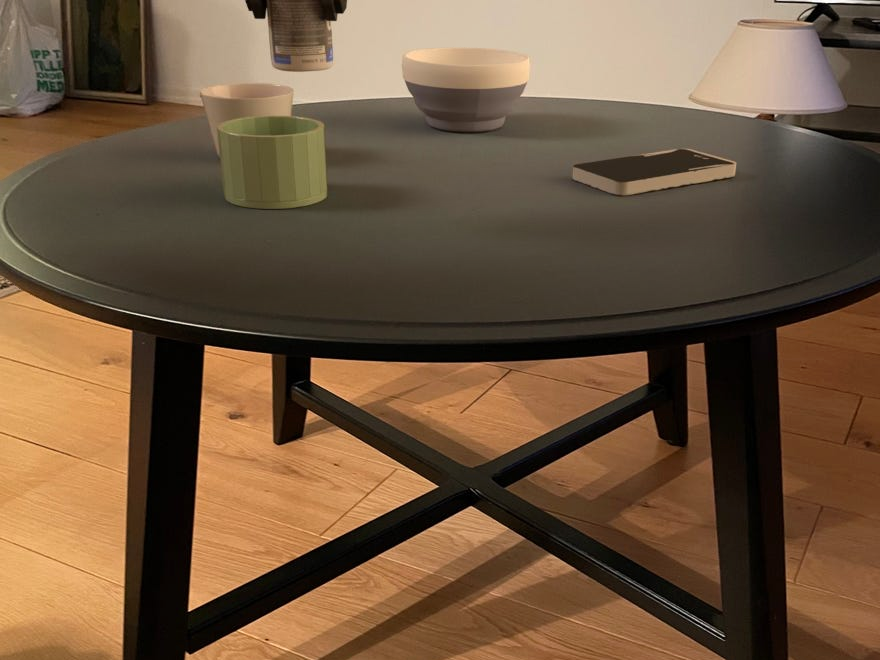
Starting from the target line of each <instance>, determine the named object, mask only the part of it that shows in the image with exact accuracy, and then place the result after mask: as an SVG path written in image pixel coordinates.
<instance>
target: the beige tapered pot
mask: <svg viewBox="0 0 880 660" xmlns="http://www.w3.org/2000/svg"><path fill="white" fill-rule="evenodd" d="M199 95H200V98H201V102H202V105H203V110H204V112H205V116H206V119H207V124H208V128H209V130H210V134H211V137H212V141H213V145H214V148H215V151H216V154H217V156H218V158H220V154H219V144H218V134H217V126H218V125H219V124H220V123H223V122H225V121H228V120H232V119H237V118H243V117H251V116H252V117H253V116H269V115H277V116H292V111H293V101H294V88H292V87H290V86H288V85H283V84H276V83H265V82H234V83H223V84H217V85H215V84H214V85H210V86H206V87H204V88H201V89H200V90H199Z"/></svg>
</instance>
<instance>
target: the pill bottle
mask: <svg viewBox="0 0 880 660" xmlns="http://www.w3.org/2000/svg"><path fill="white" fill-rule="evenodd" d="M266 6H267V10H266V17H267V27H268V42H269V53H270V62H271V66H272V68H274V69H276V70H279V71H282V72H293V73H294V72H295V73H299V72H300V73H306V72H319V71H326V70H329V69H332V67H333V66H334V49H333V48H334V47H333V31H332V29H333V28H332V21H327V20H326V16H325V12H324V8H323V0H266Z"/></svg>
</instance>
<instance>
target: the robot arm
mask: <svg viewBox="0 0 880 660" xmlns="http://www.w3.org/2000/svg"><path fill="white" fill-rule="evenodd" d="M244 1H245V4H246V7H247V10H248V12H252V15H253V17H254V19H255V20H266V17H267V6H266V0H244ZM347 6H348V0H323V8H324V12H325V16H326V20H327V21H331V22H337V21H338V15H343V14H344V13H345V12H346V10H347V8H348V7H347Z"/></svg>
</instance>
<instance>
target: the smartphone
mask: <svg viewBox="0 0 880 660" xmlns="http://www.w3.org/2000/svg"><path fill="white" fill-rule="evenodd" d="M736 170H737V162H736V161H733V160H730V159H727V158H723V157H720V156H716V155H713V154H709V153H706V152H702V151H699V150H695V149H691V148H676V149H668V150H662V151H661V150H660V151H655V152H649V153H648V152H647V153H642V154H635V155H630V156H629V155H628V156H623V157H616V158H615V157H614V158H610V159H601V160H595V161H590V162H583V163H577V164H573V165H572V180H573V181H575V182H578V183H581V184H584V185H586V186H589V187H592V188H595V189H597V190H601V191H603V192H607V193H608V194H612V195H614V196H615V195H616V196H624V197H625V196H632V195H637V194H642V193H643V194H644V193H648V192H656V191H660V190H667V189H671V188H672V189H673V188H677V187H682V186H688V185H694V184H700V183H706V182H712V181H717V180H722V179H729V178H734V177H736Z"/></svg>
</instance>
